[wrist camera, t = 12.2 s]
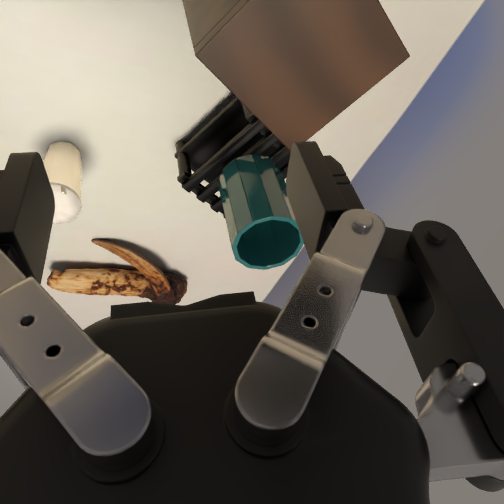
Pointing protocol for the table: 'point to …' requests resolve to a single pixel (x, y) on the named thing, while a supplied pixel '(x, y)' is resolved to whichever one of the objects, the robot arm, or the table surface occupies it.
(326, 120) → the shelf
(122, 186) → the table surface
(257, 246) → the cup
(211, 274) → the table surface
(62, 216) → the milkshake
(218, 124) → the rack
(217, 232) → the table surface
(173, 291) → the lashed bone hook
